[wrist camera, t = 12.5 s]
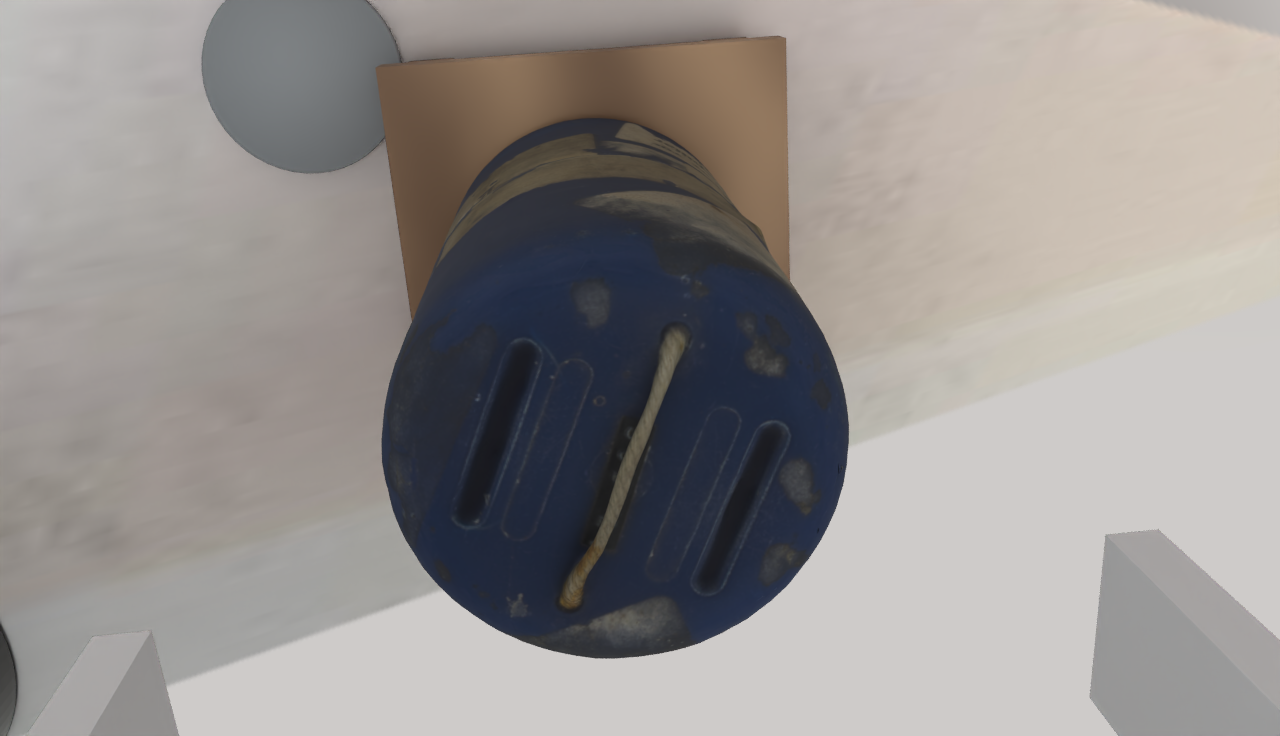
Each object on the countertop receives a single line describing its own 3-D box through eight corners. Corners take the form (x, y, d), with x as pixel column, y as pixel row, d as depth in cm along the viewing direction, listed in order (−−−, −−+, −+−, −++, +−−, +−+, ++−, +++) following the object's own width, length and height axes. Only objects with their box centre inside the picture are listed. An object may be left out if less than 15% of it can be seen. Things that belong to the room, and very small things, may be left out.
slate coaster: (227, 177, 41) (222, 180, 40) (188, -21, 38) (182, -21, 38) (415, 163, 41) (413, 165, 40) (388, -35, 38) (386, -35, 38)
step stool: (445, 384, 44) (429, 445, 38) (400, 53, 40) (375, 67, 34) (761, 357, 45) (791, 412, 39) (753, 27, 40) (786, 38, 35)
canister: (789, 216, 37) (991, 429, 20) (631, 433, 39) (691, 789, 22) (551, 50, 34) (550, 131, 17) (396, 292, 36) (263, 571, 20)
